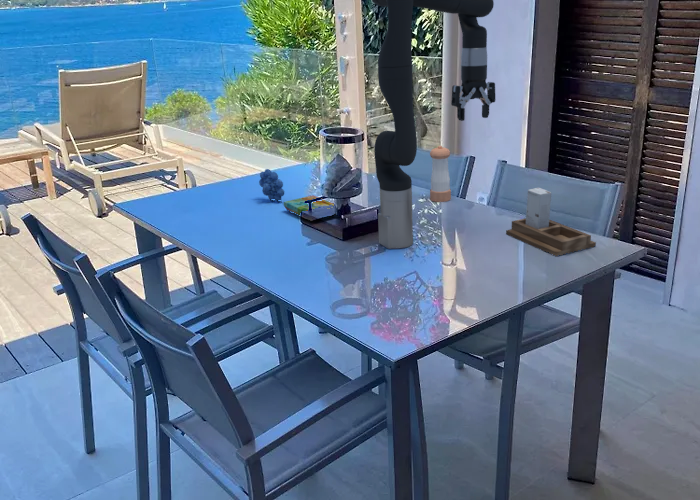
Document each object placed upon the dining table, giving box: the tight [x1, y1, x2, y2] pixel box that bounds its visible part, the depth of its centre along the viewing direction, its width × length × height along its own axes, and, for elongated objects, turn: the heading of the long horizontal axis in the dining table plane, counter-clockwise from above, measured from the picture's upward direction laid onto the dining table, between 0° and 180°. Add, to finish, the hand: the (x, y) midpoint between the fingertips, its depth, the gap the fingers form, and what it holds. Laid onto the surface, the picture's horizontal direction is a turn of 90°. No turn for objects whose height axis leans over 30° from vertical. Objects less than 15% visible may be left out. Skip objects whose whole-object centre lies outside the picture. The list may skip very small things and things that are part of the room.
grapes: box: [258, 168, 285, 201], centre depth 250 cm, size 12×7×12 cm, turn 53°
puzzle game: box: [283, 194, 335, 215], centre depth 234 cm, size 12×5×20 cm
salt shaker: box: [429, 145, 452, 203], centre depth 240 cm, size 7×7×19 cm
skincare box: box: [525, 187, 552, 229], centre depth 201 cm, size 6×4×12 cm
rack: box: [505, 217, 597, 257], centre depth 198 cm, size 14×22×4 cm, turn 25°
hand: (473, 119), depth 208 cm, fingers open, 8 cm apart
